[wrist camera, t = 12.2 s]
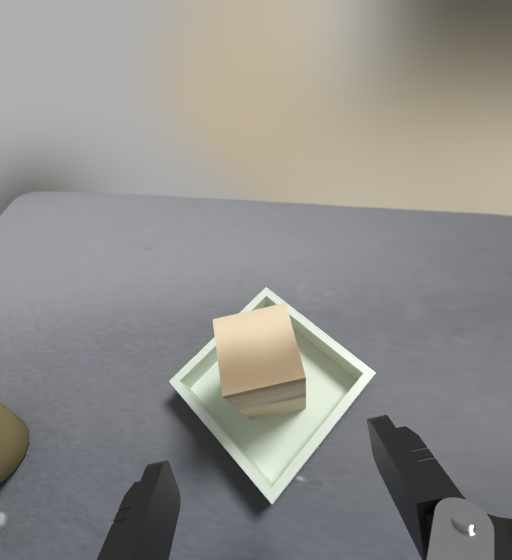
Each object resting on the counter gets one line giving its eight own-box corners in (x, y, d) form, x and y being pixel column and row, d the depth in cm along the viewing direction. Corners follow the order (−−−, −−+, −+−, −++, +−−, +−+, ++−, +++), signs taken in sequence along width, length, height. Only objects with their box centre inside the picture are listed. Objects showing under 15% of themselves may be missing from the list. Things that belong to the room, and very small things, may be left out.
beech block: (241, 365, 30) (212, 319, 21) (292, 353, 30) (285, 302, 21) (250, 420, 28) (222, 396, 18) (306, 408, 28) (305, 377, 18)
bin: (269, 302, 34) (266, 287, 31) (368, 382, 28) (375, 372, 25) (182, 389, 30) (168, 381, 27) (275, 500, 25) (271, 504, 22)
